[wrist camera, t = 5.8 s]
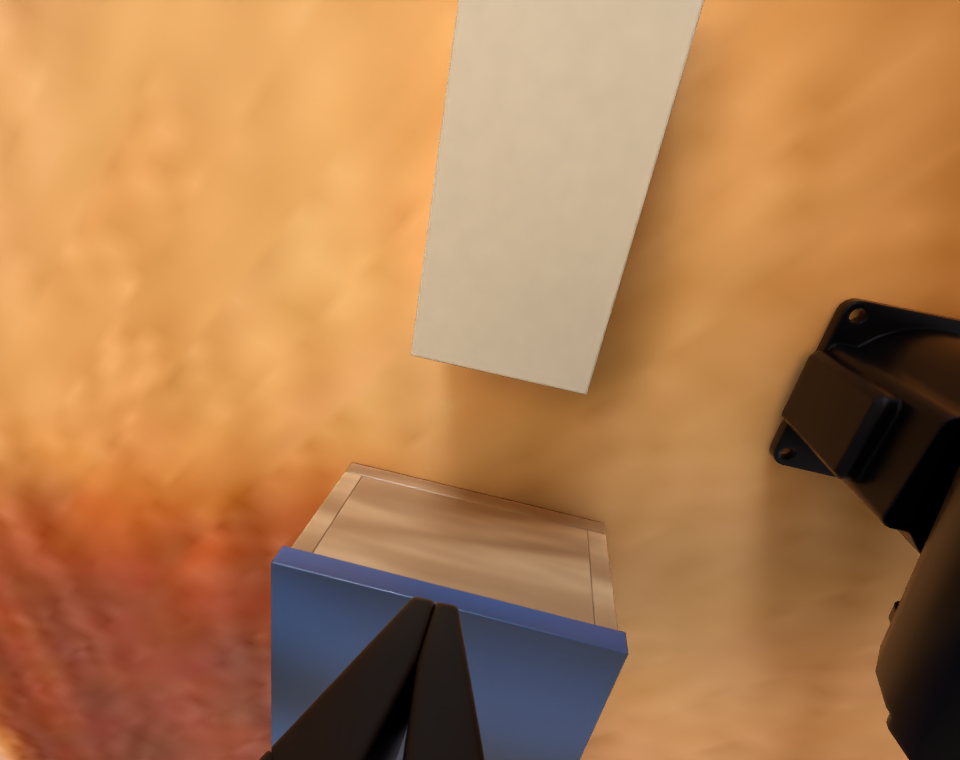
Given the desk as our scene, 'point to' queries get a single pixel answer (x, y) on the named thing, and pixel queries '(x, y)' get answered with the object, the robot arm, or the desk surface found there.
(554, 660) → the blue lid
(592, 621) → the storage box
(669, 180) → the desk surface
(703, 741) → the desk surface
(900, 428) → the robot arm
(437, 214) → the case
